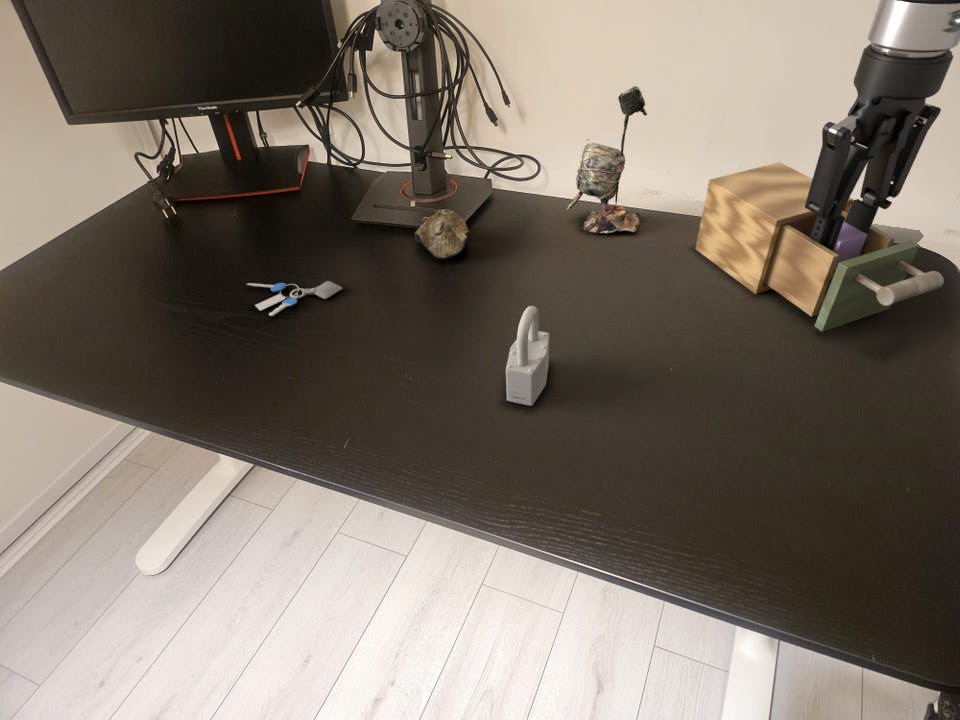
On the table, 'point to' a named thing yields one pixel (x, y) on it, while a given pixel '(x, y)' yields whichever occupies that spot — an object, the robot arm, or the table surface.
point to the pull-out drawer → (844, 275)
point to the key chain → (321, 291)
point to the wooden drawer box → (751, 219)
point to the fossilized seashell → (443, 234)
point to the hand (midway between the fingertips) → (830, 258)
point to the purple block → (848, 243)
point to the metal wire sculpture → (608, 175)
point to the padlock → (527, 360)
